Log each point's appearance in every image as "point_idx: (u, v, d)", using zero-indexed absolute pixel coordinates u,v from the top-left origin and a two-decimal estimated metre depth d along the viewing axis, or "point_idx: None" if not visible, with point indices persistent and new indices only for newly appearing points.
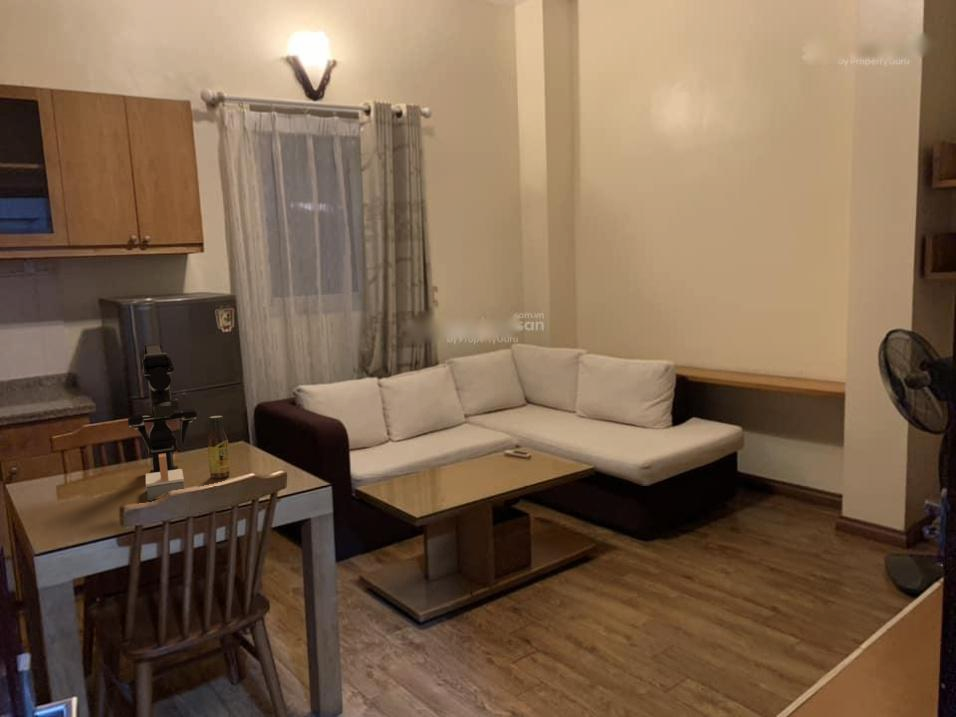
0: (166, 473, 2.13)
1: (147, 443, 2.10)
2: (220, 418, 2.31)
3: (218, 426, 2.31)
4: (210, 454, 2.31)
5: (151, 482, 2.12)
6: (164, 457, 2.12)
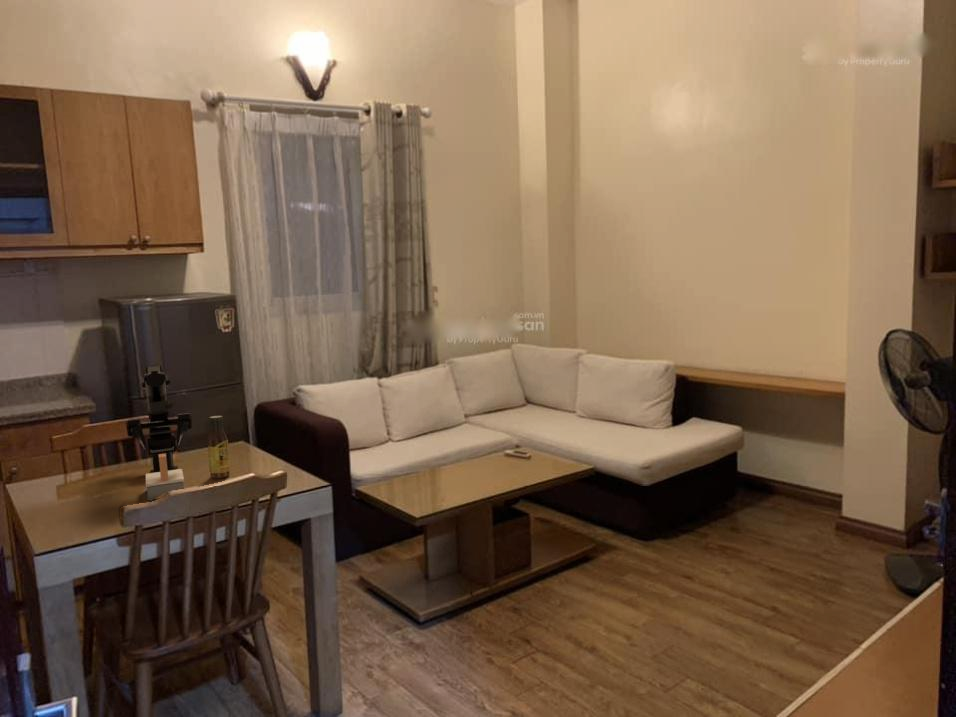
0: (166, 473, 2.13)
1: (144, 443, 2.19)
2: (220, 418, 2.31)
3: (218, 426, 2.31)
4: (210, 454, 2.31)
5: (151, 482, 2.12)
6: (164, 457, 2.12)
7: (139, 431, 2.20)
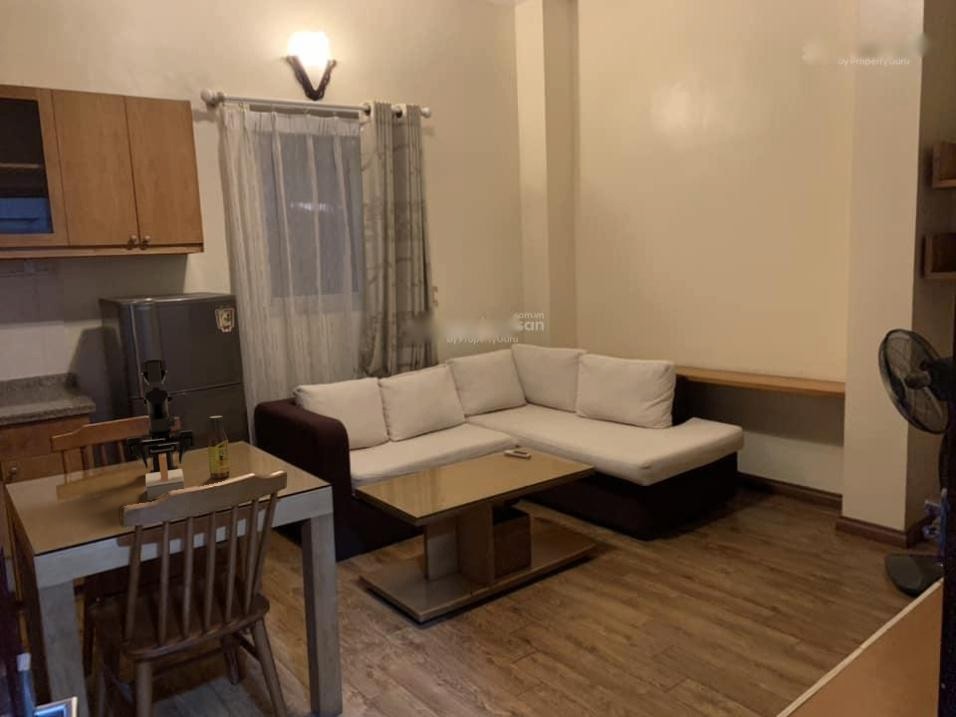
0: (166, 473, 2.13)
1: (145, 462, 2.13)
2: (220, 418, 2.31)
3: (218, 426, 2.31)
4: (210, 454, 2.31)
5: (151, 482, 2.12)
6: (164, 457, 2.12)
7: (140, 449, 2.14)
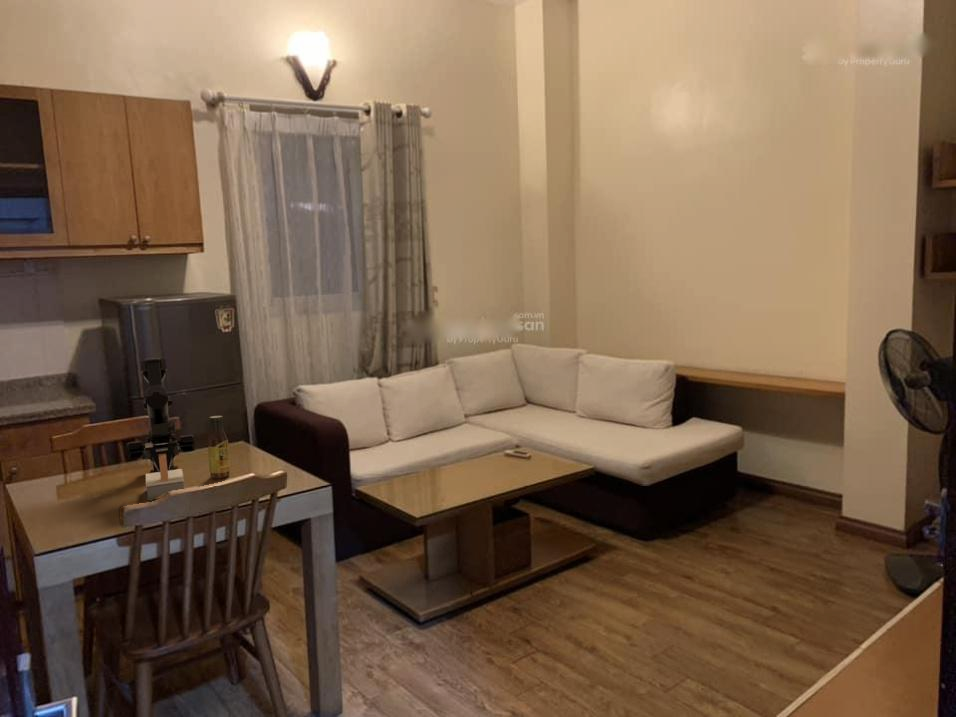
0: (166, 473, 2.13)
1: (157, 465, 2.13)
2: (220, 418, 2.31)
3: (218, 426, 2.31)
4: (210, 454, 2.31)
5: (151, 482, 2.12)
6: (164, 457, 2.12)
7: (153, 453, 2.14)
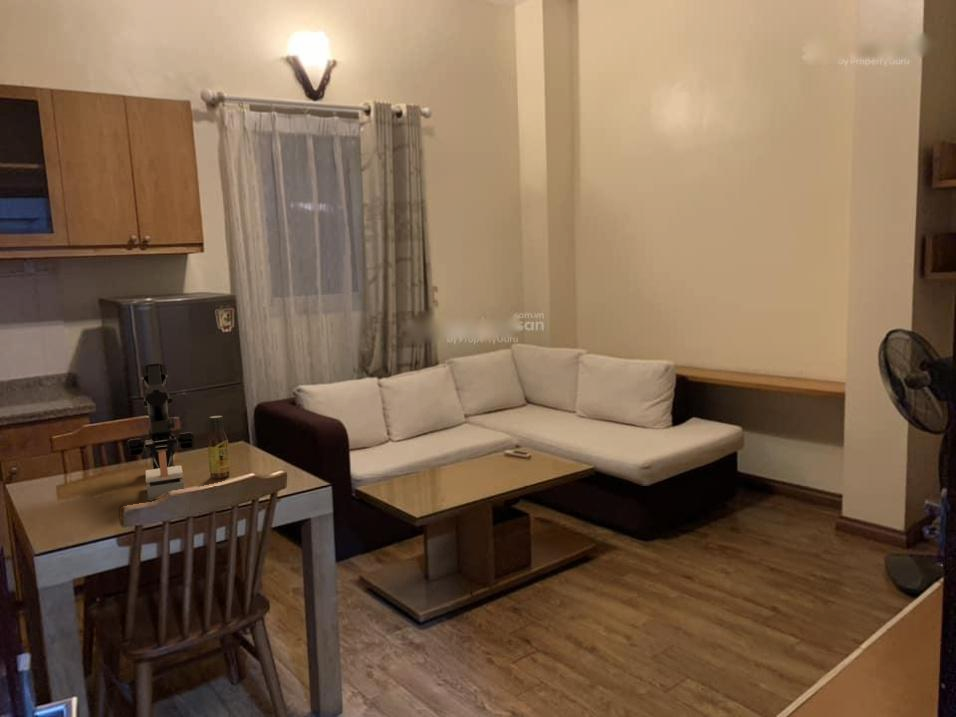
0: (166, 469, 2.17)
1: (157, 461, 2.18)
2: (220, 418, 2.31)
3: (218, 426, 2.31)
4: (210, 454, 2.31)
5: (151, 478, 2.17)
6: (164, 454, 2.17)
7: (153, 449, 2.19)
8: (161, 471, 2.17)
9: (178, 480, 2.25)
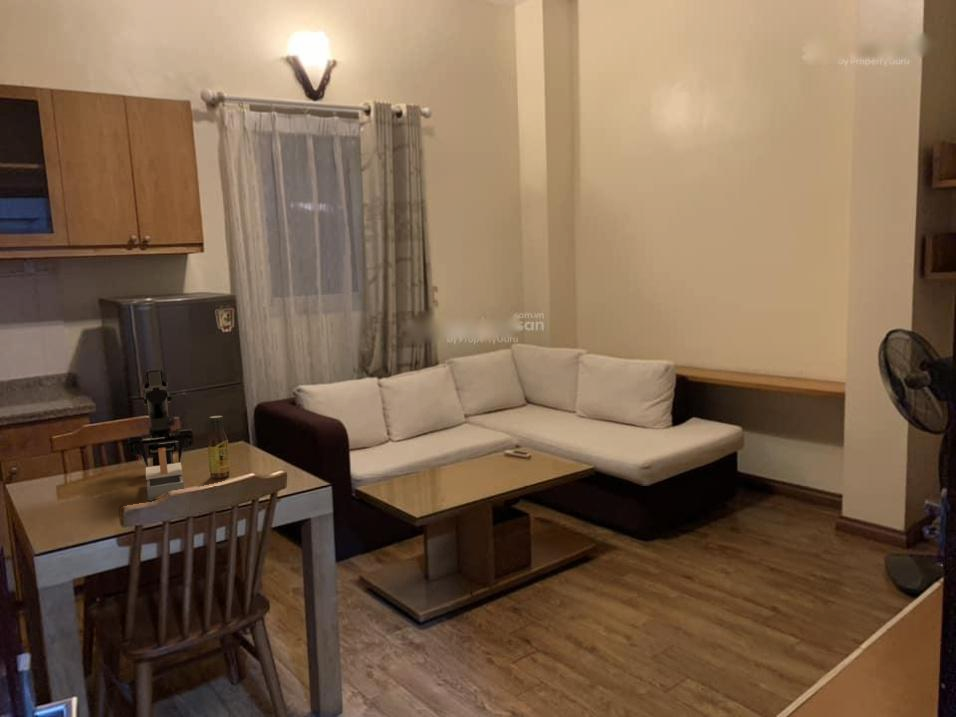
0: (165, 466, 2.21)
1: (145, 460, 2.20)
2: (220, 418, 2.31)
3: (218, 426, 2.31)
4: (210, 454, 2.31)
5: (151, 475, 2.20)
6: (163, 451, 2.20)
7: (141, 448, 2.21)
8: (161, 468, 2.20)
9: (178, 480, 2.25)
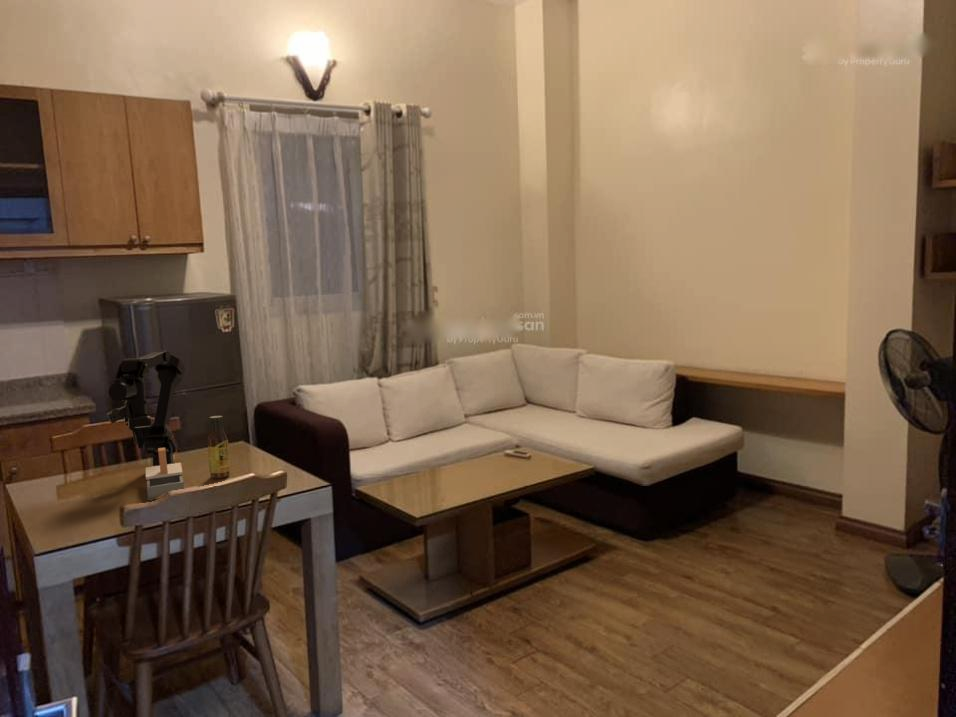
0: (165, 466, 2.21)
1: (134, 439, 2.33)
2: (220, 418, 2.31)
3: (218, 426, 2.31)
4: (210, 454, 2.31)
5: (151, 475, 2.20)
6: (163, 451, 2.20)
7: None
8: (161, 468, 2.20)
9: (178, 480, 2.25)
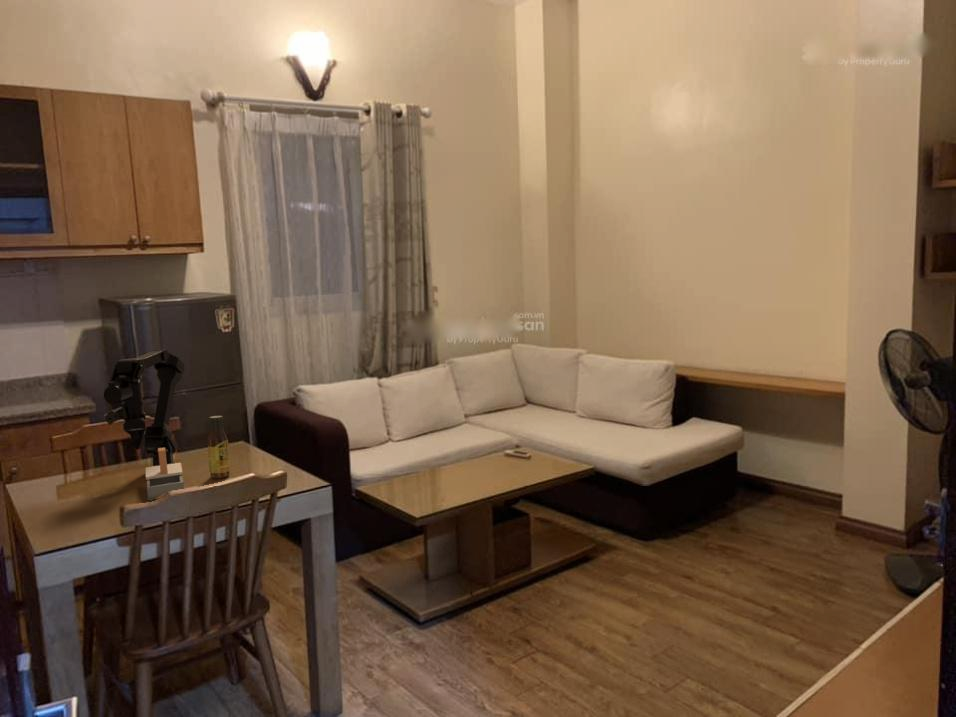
0: (165, 466, 2.21)
1: None
2: (220, 418, 2.31)
3: (218, 426, 2.31)
4: (210, 454, 2.31)
5: (151, 475, 2.20)
6: (163, 451, 2.20)
7: None
8: (161, 468, 2.20)
9: (178, 480, 2.25)
